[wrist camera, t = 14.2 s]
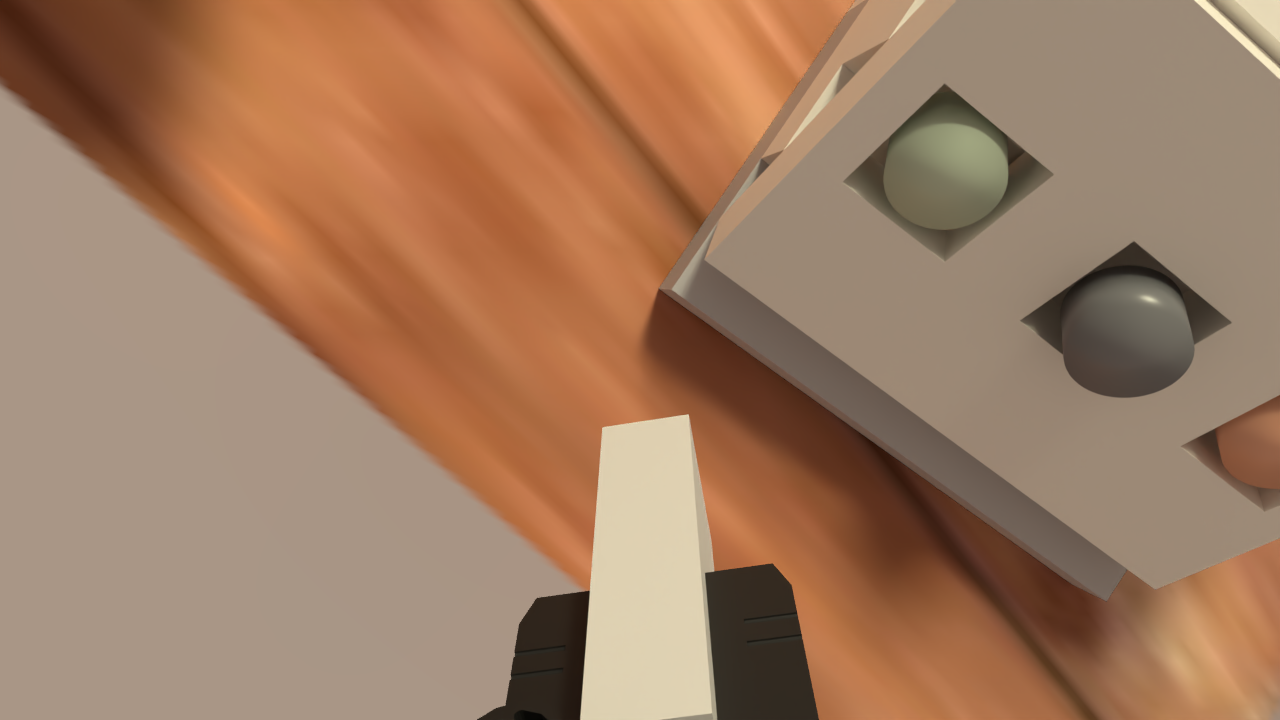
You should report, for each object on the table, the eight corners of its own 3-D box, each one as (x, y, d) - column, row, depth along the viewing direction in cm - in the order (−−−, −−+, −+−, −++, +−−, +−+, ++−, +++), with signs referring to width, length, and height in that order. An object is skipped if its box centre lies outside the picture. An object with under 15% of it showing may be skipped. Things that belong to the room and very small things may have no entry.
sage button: (839, 186, 35) (895, 173, 31) (908, 84, 35) (973, 57, 31) (921, 250, 36) (988, 246, 31) (988, 150, 36) (1063, 133, 32)
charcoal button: (1010, 349, 36) (1089, 359, 31) (1077, 247, 36) (1166, 243, 31) (1087, 408, 36) (1175, 427, 32) (1153, 309, 37) (1249, 313, 32)
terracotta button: (1164, 440, 39) (1257, 461, 34) (1226, 346, 39) (1326, 355, 34) (1233, 493, 39) (1332, 521, 35) (1292, 401, 40) (1399, 417, 35)
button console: (658, 288, 42) (790, 296, 26) (878, -33, 42) (1142, -225, 26) (1072, 584, 47) (1400, 747, 31) (1262, 293, 48) (1682, 302, 31)
